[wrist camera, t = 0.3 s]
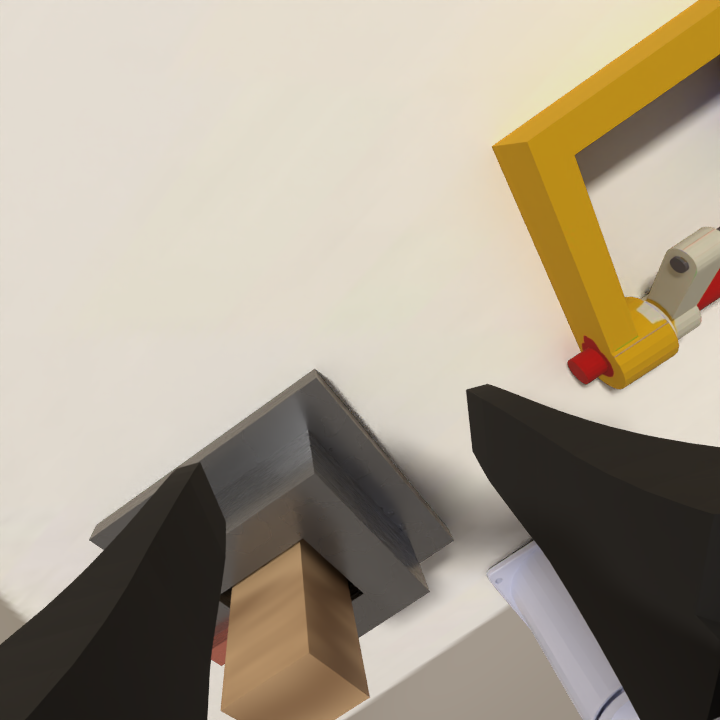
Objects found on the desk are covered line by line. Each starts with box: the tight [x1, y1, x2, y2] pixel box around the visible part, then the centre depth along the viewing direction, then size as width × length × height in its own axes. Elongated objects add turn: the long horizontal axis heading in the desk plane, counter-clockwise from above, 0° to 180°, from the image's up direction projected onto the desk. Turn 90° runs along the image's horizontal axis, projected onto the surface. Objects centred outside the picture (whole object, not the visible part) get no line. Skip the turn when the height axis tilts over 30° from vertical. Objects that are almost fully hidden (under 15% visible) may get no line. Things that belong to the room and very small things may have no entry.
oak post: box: [221, 539, 370, 720], centre depth 20 cm, size 4×4×8 cm
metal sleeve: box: [89, 369, 454, 666], centre depth 23 cm, size 14×14×5 cm
